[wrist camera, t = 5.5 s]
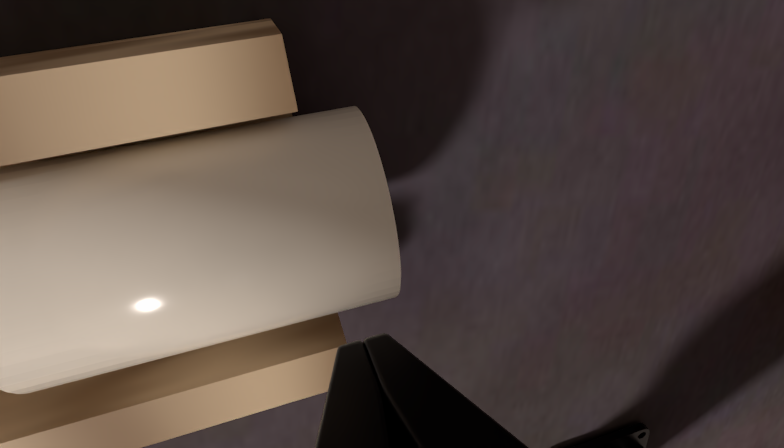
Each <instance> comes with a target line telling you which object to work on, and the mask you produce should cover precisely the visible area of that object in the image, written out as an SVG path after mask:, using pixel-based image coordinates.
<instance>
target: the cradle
mask: <svg viewBox="0 0 784 448" xmlns="http://www.w3.org/2000/svg"><path fill="white" fill-rule="evenodd" d="M293 112H298V109H297V104H296V99H295V94H294V90H293V85H292V80H291V75H290V70H289V66H288V61H287V56H286V51H285V47H284V42H283V37H282V33H281V32H280V31H279V29H278V28H277V27H276V25H275V24H274V23H273V21H272V20H271V18H269V19H262V20H256V21H249V22H242V23H235V24H228V25H221V26H214V27H207V28H200V29H193V30H186V31H179V32H172V33H165V34H158V35H151V36H144V37H138V38H131V39H124V40H117V41H110V42H103V43H96V44H89V45H82V46H75V47H68V48H61V49H54V50H47V51H40V52H33V53H26V54H19V55H13V56H6V57H0V168H2V167H7V166H13V165H19V164H24V163H30V162H36V161H42V160H47V159H53V158H59V157H65V156H70V155H76V154H82V153H87V152H93V151H99V150H105V149H110V148H116V147H122V146H128V145H133V144H139V143H145V142H150V141H156V140H162V139H168V138H173V137H179V136H185V135H191V134H196V133H202V132H208V131H213V130H219V129H225V128H231V127H236V126H242V125H248V124H254V123H259V122H265V121H271V120H276V119H282V118H288V117H293V116H292V113H293ZM344 344H347V343H346V340H345V336H344V333H343V330H342V326H341V323H340V320H339V316H338V313H333V314H329V315H325V316H321V317H318V318H314V319H310V320H306V321H302V322H299V323H295V324H291V325H287V326H283V327H279V328H276V329H272V330H268V331H264V332H260V333H257V334H253V335H249V336H245V337H241V338H237V339H234V340H230V341H226V342H222V343H218V344H215V345H211V346H207V347H203V348H199V349H195V350H192V351H188V352H184V353H180V354H176V355H173V356H169V357H165V358H161V359H157V360H153V361H150V362H146V363H142V364H138V365H134V366H131V367H127V368H123V369H119V370H115V371H111V372H108V373H104V374H100V375H96V376H92V377H89V378H85V379H81V380H77V381H73V382H69V383H66V384H62V385H58V386H54V387H50V388H47V389H43V390H39V391H35V392H31V393H27V394H14V393H7V392H5V391H2V390H0V448H142V447H145V446H148V445H152V444H155V443H158V442H161V441H165V440H168V439H171V438H175V437H178V436H181V435H185V434H188V433H191V432H195V431H198V430H201V429H204V428H208V427H211V426H214V425H218V424H221V423H224V422H228V421H231V420H234V419H237V418H241V417H244V416H247V415H251V414H254V413H257V412H261V411H264V410H267V409H271V408H274V407H277V406H280V405H284V404H287V403H290V402H294V401H297V400H300V399H304V398H307V397H310V396H314V395H317V394H320V393H323V392H327V391H328V388H329V383H330V379H331V375H332V370H333V366H334V361H335V357H336V352H337V349H338V347H339V346H341V345H344Z"/></svg>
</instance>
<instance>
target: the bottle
mask: <svg viewBox="0 0 784 448" xmlns="http://www.w3.org/2000/svg"><path fill="white" fill-rule="evenodd" d="M400 285H401V263H400V251H399V243H398V236H397V229H396V223H395V217H394V212H393V207H392V202H391V198H390V193H389V189H388V185H387V181H386V177H385V173H384V169H383V166H382V162H381V159H380V156H379V153H378V149H377V146H376V143H375V141H374V138H373V135H372V133H371V130H370V128H369V126H368V123H367V121H366V119H365V117H364V115H363V114H362V112H361V111H360V110H359V109H358V108H357V107H356V106H351V107H345V108H339V109H334V110H328V111H322V112H317V113H311V114H305V115H299V116H294V117H288V118H282V119H276V120H271V121H265V122H259V123H254V124H248V125H242V126H236V127H231V128H225V129H219V130H213V131H208V132H202V133H196V134H191V135H185V136H179V137H173V138H168V139H162V140H156V141H150V142H145V143H139V144H133V145H128V146H122V147H116V148H110V149H105V150H99V151H93V152H87V153H82V154H76V155H70V156H65V157H59V158H53V159H47V160H42V161H36V162H30V163H24V164H19V165H13V166H7V167H2V168H0V390H2V391H5V392H7V393H14V394H27V393H31V392H35V391H39V390H43V389H47V388H50V387H54V386H58V385H62V384H66V383H69V382H73V381H77V380H81V379H85V378H89V377H92V376H96V375H100V374H104V373H108V372H111V371H115V370H119V369H123V368H127V367H131V366H134V365H138V364H142V363H146V362H150V361H153V360H157V359H161V358H165V357H169V356H173V355H176V354H180V353H184V352H188V351H192V350H195V349H199V348H203V347H207V346H211V345H215V344H218V343H222V342H226V341H230V340H234V339H237V338H241V337H245V336H249V335H253V334H257V333H260V332H264V331H268V330H272V329H276V328H279V327H283V326H287V325H291V324H295V323H299V322H302V321H306V320H310V319H314V318H318V317H321V316H325V315H329V314H333V313H337V312H341V311H344V310H348V309H352V308H356V307H360V306H363V305H367V304H371V303H375V302H379V301H383V300H386V299H390V298H394V297H397V296H398V294H399V291H400Z"/></svg>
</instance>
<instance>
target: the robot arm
mask: <svg viewBox="0 0 784 448" xmlns="http://www.w3.org/2000/svg"><path fill="white" fill-rule="evenodd" d="M649 434H650V430H649V429H648V428H647V427H646V426H645V425H644V424H643V423H638V424H635V425H633V426H630V427H627V428H624V429H621V430H619V431H616V432H613V433H610V434H608V435H605V436H602V437H599V438H597V439H594V440H591V441H588V442H586V443H583V444H580V445H577V446H575V447H572V448H646V445H647V441H648V438H649ZM315 448H528V447H527V446H526V445H525V444H523V443H522V442H521V441H520V440H518V439H517V438H516V437H515V436H513V435H512V434H511V433H510V432H508V431H507V430H506V429H505V428H503V427H502V426H501V425H500V424H499V423H497V422H496V421H495V420H494V419H492V418H491V417H490V416H489V415H487V414H486V413H485V412H484V411H482V410H481V409H480V408H479V407H477V406H476V405H475V404H474V403H472V402H471V401H470V400H469V399H468V398H466V397H465V396H464V395H463V394H461V393H460V392H459V391H458V390H456V389H455V388H454V387H453V386H451V385H450V384H449V383H448V382H446V381H445V380H444V379H443V378H441V377H440V376H439V375H438V374H437V373H435V372H434V371H433V370H432V369H430V368H429V367H428V366H427V365H425V364H424V363H423V362H422V361H420V360H419V359H418V358H417V357H415V356H414V355H413V354H412V353H410V352H409V351H408V350H407V349H406V348H404V347H403V346H402V345H401V344H399V343H398V342H397V341H396V340H394V339H393V338H392V337H391V336H389V335H388V334H385V333H382V334H379V335H375V336H372V337H368V338H366V339H364V341H363V343H362V342H361V341H359V340H358V341H354V342H351V343H347V344H344V345H341V346H339V347H338V349H337V352H336V357H335V361H334V366H333V370H332V375H331V379H330V383H329V388H328V392H327V397H326V401H325V406H324V410H323V414H322V419H321V423H320V428H319V432H318V437H317V441H316V445H315Z"/></svg>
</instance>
